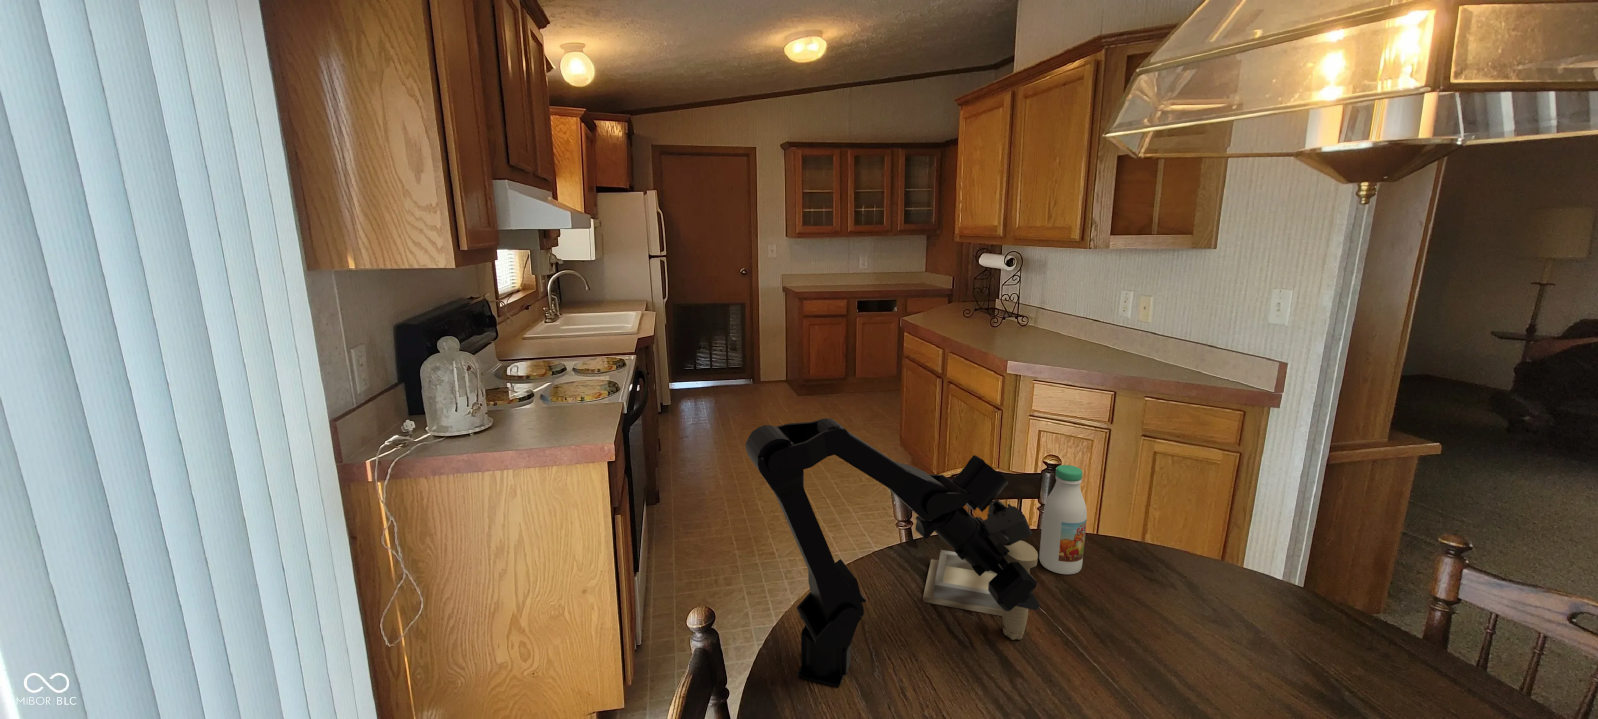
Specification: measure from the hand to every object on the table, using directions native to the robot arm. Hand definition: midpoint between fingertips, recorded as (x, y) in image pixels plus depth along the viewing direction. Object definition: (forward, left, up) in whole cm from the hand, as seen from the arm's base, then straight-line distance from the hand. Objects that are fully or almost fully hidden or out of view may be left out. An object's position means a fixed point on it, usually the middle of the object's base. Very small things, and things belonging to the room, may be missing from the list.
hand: (1025, 591), depth 97 cm
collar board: (-8, +10, -8) cm, 15 cm away
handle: (-1, -1, -8) cm, 8 cm away
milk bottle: (+8, +24, -8) cm, 27 cm away
